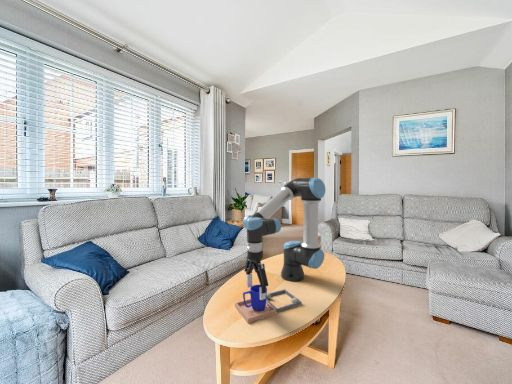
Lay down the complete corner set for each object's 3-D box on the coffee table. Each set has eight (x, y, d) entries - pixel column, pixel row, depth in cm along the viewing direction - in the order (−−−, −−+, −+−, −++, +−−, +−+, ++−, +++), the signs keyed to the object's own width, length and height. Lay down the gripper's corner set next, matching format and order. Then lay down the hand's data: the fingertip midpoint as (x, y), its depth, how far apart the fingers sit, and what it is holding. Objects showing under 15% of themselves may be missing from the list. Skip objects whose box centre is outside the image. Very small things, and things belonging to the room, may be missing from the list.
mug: (240, 307, 114) (240, 287, 114) (263, 302, 119) (263, 283, 118) (245, 316, 107) (245, 295, 106) (269, 310, 111) (269, 290, 110)
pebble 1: (268, 296, 125) (268, 291, 125) (271, 299, 123) (271, 293, 123) (264, 298, 124) (264, 292, 124) (267, 300, 121) (267, 295, 121)
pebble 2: (295, 301, 120) (295, 295, 120) (298, 304, 118) (298, 298, 118) (290, 302, 119) (290, 297, 119) (294, 305, 116) (294, 300, 116)
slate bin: (284, 291, 131) (284, 289, 131) (301, 304, 118) (301, 301, 118) (261, 298, 124) (261, 295, 124) (276, 312, 111) (276, 309, 111)
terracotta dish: (260, 299, 123) (260, 295, 123) (276, 313, 109) (276, 309, 109) (234, 306, 116) (234, 302, 116) (247, 323, 102) (247, 318, 102)
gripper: (237, 244, 120) (238, 283, 122) (260, 259, 98) (261, 307, 100) (250, 242, 124) (251, 280, 125) (275, 256, 102) (276, 302, 103)
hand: (255, 292), depth 112 cm, fingers open, 13 cm apart
